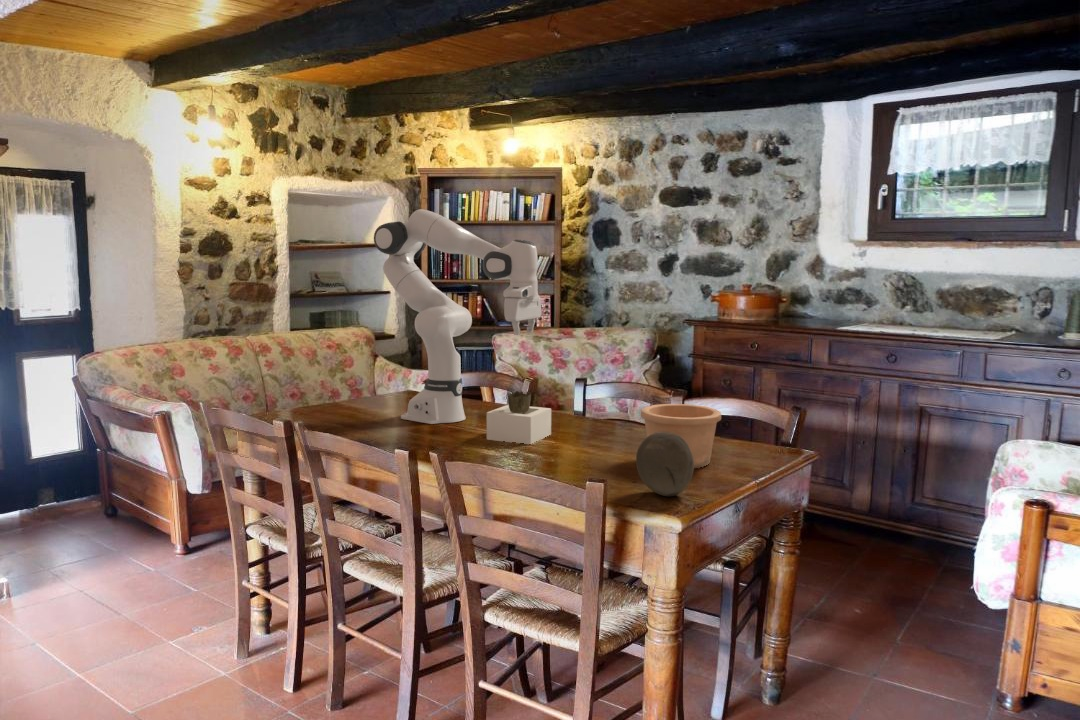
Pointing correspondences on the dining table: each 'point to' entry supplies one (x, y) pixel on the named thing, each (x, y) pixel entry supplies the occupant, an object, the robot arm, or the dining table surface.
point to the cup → (519, 402)
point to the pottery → (685, 426)
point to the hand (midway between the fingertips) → (523, 333)
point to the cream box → (518, 425)
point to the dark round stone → (665, 463)
